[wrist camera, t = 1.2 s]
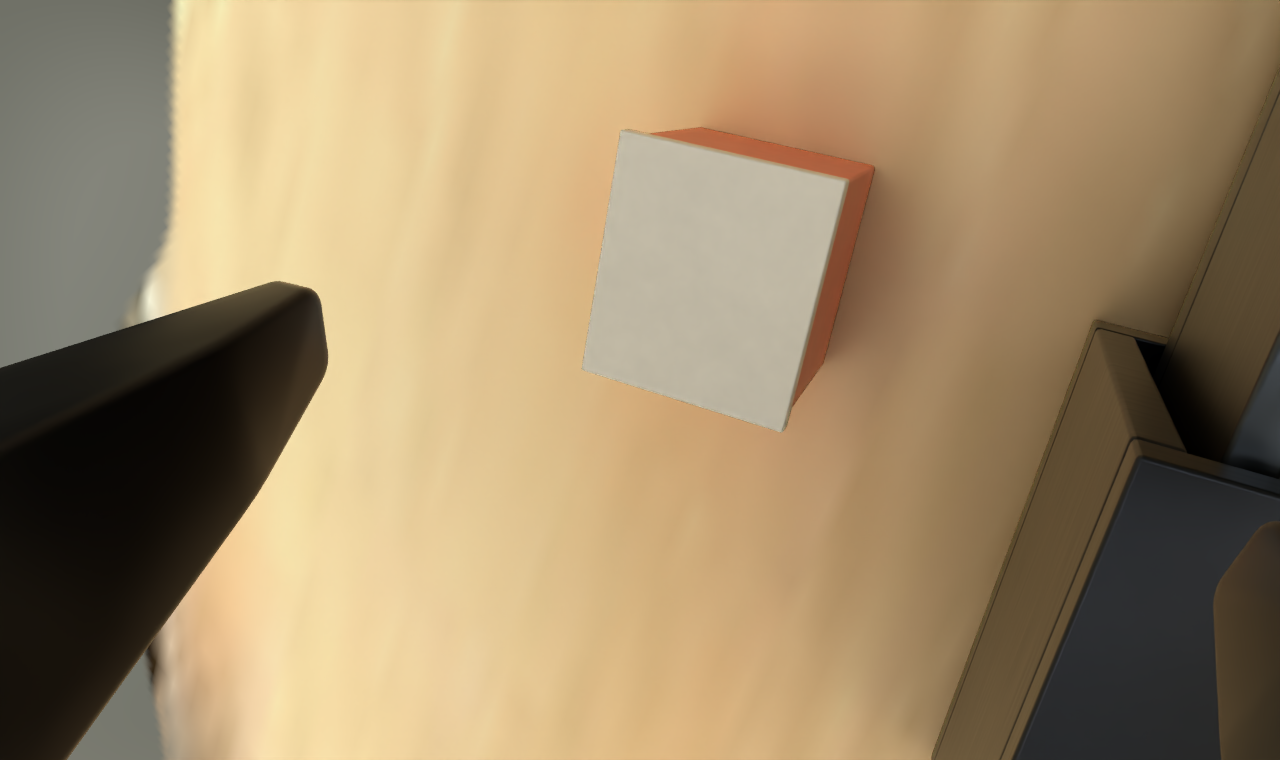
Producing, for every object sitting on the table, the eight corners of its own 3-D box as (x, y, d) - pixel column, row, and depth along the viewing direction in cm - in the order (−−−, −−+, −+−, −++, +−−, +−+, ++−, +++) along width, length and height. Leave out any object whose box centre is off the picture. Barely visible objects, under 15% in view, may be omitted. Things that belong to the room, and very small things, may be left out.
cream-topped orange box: (825, 370, 23) (782, 433, 19) (656, 321, 24) (580, 370, 20) (881, 162, 21) (846, 181, 17) (695, 121, 23) (619, 128, 18)
